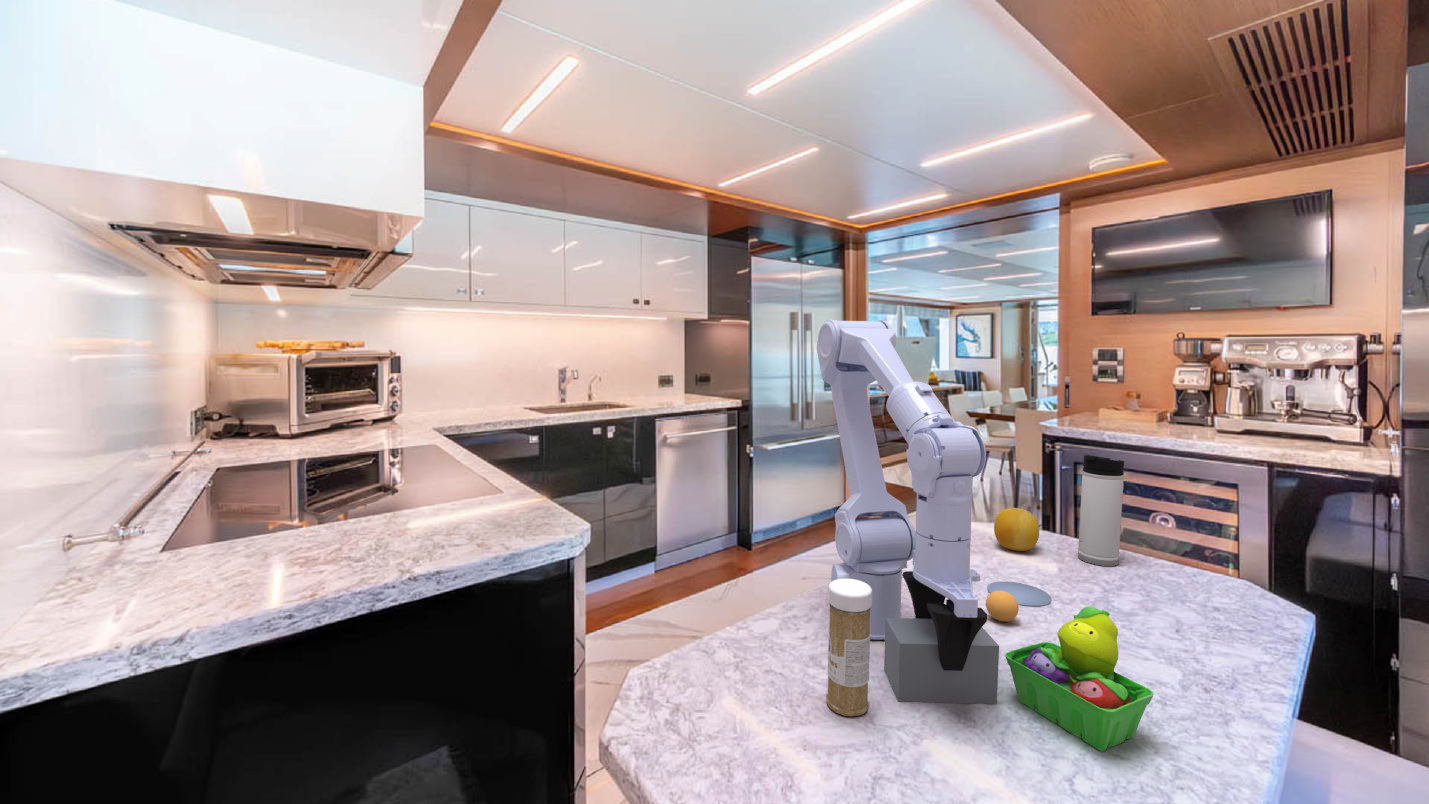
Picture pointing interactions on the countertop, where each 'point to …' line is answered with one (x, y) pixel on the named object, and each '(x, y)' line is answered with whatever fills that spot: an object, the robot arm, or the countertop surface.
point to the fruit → (1016, 529)
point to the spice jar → (849, 646)
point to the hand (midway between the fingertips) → (939, 650)
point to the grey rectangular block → (937, 665)
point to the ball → (1002, 606)
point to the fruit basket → (1081, 681)
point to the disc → (1022, 593)
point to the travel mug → (1101, 510)
